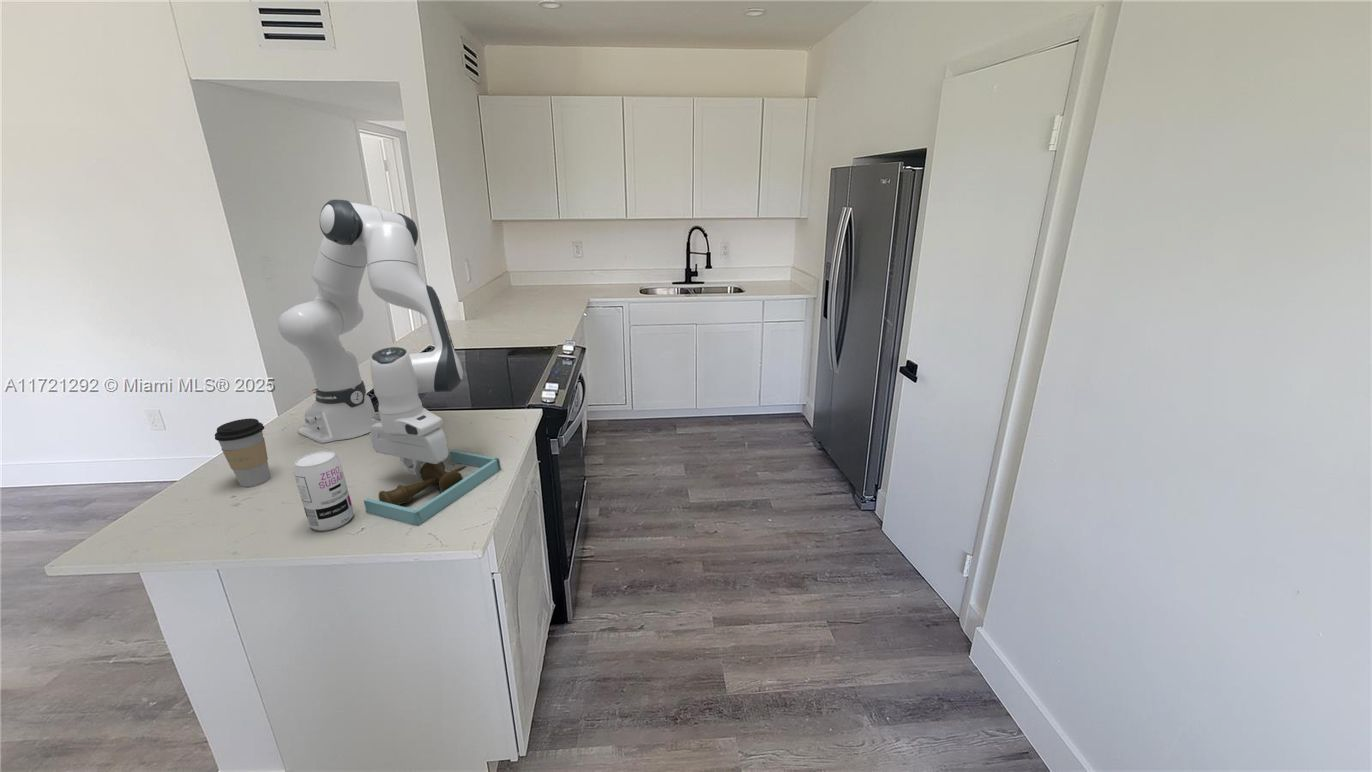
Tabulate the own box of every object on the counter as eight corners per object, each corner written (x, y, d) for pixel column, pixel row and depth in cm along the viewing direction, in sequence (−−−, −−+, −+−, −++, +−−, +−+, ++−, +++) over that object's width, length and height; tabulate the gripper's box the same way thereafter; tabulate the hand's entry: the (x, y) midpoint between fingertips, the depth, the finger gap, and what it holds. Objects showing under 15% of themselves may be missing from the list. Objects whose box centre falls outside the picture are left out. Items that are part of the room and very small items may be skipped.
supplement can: (322, 512, 121) (305, 450, 116) (361, 509, 122) (346, 448, 117) (301, 534, 114) (281, 469, 109) (343, 531, 114) (325, 466, 109)
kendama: (375, 507, 124) (458, 470, 138) (395, 523, 118) (479, 482, 132) (369, 484, 122) (454, 449, 136) (389, 499, 116) (475, 461, 130)
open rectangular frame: (366, 512, 121) (363, 500, 120) (454, 460, 143) (452, 449, 142) (418, 525, 115) (415, 513, 114) (500, 469, 138) (499, 458, 137)
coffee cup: (227, 494, 130) (207, 436, 125) (236, 477, 138) (217, 422, 132) (275, 484, 134) (258, 427, 129) (281, 468, 142) (265, 414, 137)
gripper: (358, 418, 127) (371, 472, 132) (425, 430, 120) (437, 486, 124) (381, 409, 132) (393, 460, 137) (447, 419, 125) (457, 473, 130)
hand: (414, 473), depth 131 cm, fingers closed
